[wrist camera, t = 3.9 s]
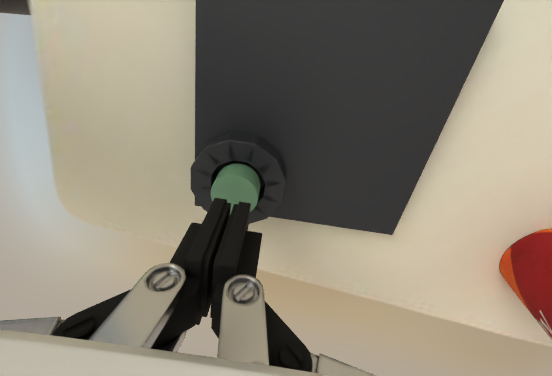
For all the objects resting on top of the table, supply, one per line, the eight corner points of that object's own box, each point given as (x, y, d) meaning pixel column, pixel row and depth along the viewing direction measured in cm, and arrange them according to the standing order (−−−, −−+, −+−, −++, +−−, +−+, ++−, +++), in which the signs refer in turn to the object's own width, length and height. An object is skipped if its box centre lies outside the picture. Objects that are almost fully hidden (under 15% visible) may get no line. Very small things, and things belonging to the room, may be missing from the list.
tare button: (216, 198, 16) (209, 212, 15) (217, 159, 15) (211, 171, 14) (257, 204, 17) (255, 219, 15) (263, 166, 15) (260, 179, 14)
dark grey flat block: (200, 195, 20) (186, 219, 17) (204, -55, 13) (182, -79, 10) (386, 223, 20) (401, 251, 17) (486, -1, 13) (535, -11, 11)
